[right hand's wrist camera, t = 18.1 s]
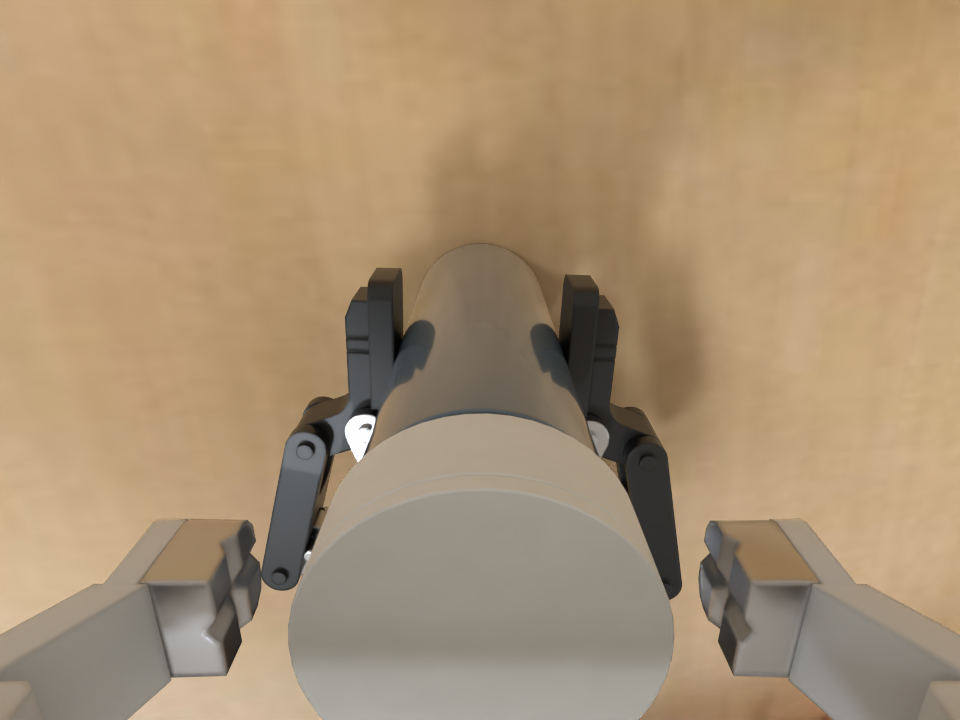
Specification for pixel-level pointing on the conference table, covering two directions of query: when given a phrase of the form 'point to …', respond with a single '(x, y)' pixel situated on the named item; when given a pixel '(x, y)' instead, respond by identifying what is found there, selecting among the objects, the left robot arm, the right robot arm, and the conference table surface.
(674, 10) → the conference table surface
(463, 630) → the lid
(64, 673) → the right robot arm
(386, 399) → the bottle
